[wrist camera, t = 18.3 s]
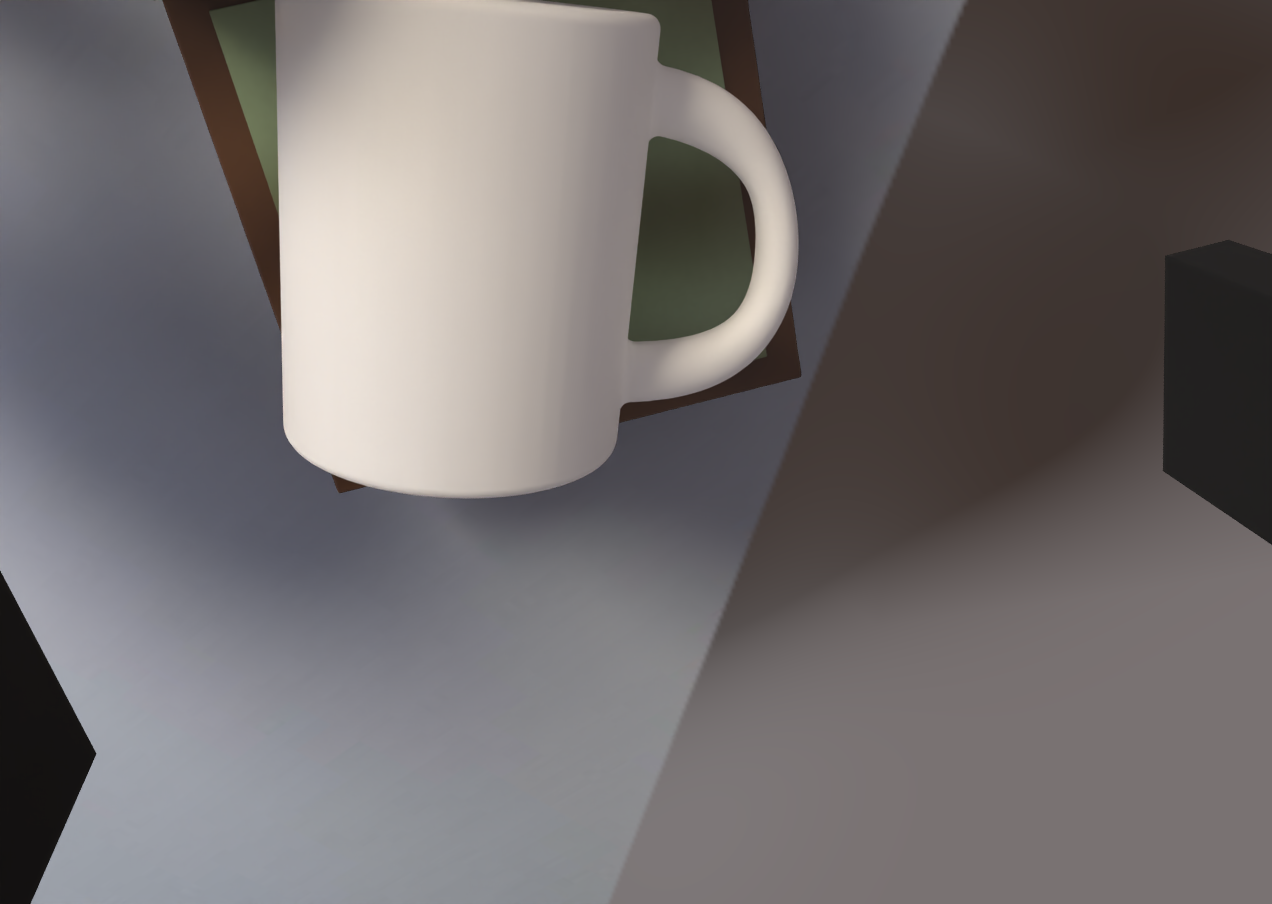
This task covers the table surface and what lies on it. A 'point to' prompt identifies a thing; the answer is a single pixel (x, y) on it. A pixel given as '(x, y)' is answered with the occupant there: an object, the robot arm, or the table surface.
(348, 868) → the table surface
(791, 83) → the table surface
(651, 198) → the small table
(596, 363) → the mug
